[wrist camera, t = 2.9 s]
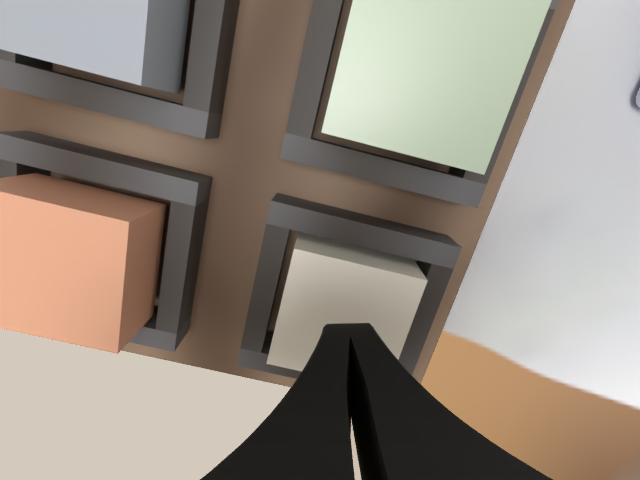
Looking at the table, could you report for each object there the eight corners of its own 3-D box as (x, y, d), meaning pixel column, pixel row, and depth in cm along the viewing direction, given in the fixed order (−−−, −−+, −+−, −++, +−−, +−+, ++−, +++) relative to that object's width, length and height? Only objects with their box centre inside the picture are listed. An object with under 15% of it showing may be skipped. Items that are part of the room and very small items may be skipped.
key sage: (506, 15, 10) (558, -17, 8) (453, 165, 12) (484, 175, 9) (359, -27, 10) (370, -73, 8) (322, 131, 11) (321, 132, 9)
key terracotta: (166, 204, 12) (129, 221, 10) (153, 315, 13) (117, 353, 11) (36, 172, 12) (-34, 183, 10) (35, 288, 13) (-26, 322, 11)
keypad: (556, -29, 13) (640, -85, 9) (400, 382, 18) (417, 440, 15) (39, -183, 12) (-78, -309, 8) (36, 301, 17) (-35, 344, 14)
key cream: (410, 255, 14) (427, 280, 11) (377, 350, 15) (386, 390, 13) (299, 227, 13) (294, 248, 11) (275, 327, 15) (266, 363, 12)
